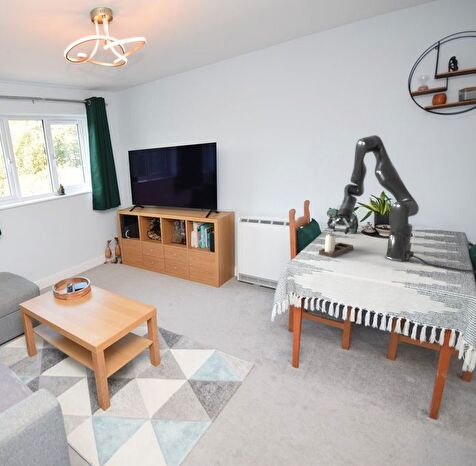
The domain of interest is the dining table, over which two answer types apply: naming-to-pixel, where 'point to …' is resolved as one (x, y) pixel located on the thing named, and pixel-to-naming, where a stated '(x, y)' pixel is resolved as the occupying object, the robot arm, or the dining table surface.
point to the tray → (337, 250)
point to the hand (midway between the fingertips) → (337, 232)
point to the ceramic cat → (334, 213)
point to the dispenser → (330, 241)
